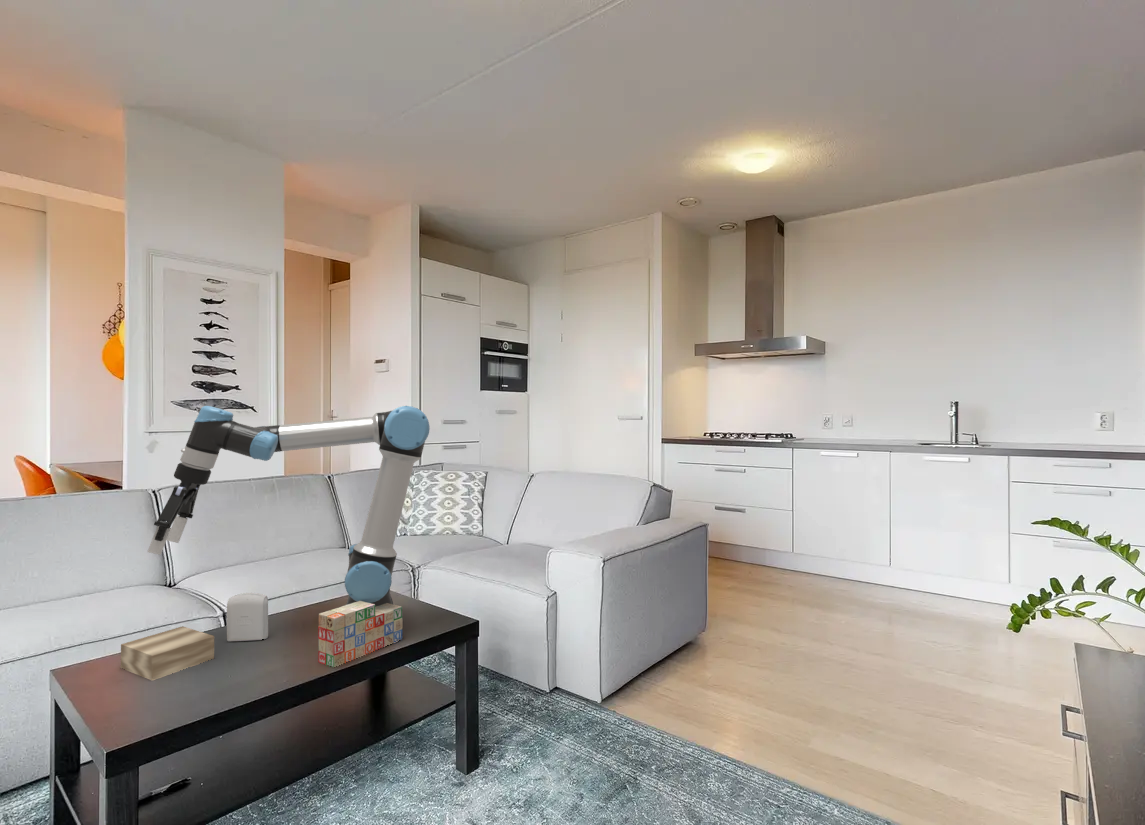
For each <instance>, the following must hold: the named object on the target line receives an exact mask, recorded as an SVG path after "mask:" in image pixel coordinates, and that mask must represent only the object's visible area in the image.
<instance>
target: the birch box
mask: <svg viewBox="0 0 1145 825" xmlns="http://www.w3.org/2000/svg"><path fill="white" fill-rule="evenodd" d="M211 659H212V660H214V659H215V635H212V634H210V633H206V632H202V631H200V630H196V629H194V628H189V627H187V626H183V625H182V626H179V627H176V628H172V629H169V630H165V631H162V632H159V633H155V634H152V635H151V634H150V635H148V636H144V637H142V638H138V639H134V640H131V641H128V642H124V643H121V644H120V669H122V668H123V669H122V670H124V669H125V670H124V671H127V672H129V673H132V674H135V675H136V676H140V677H142V678H144V679H148V680H149V681H155V680H158V679H161V678H164V677H167V676H169V675H172V673H173V674H175V673H178V672H181V671H183V669H184V670H186V668H187V669H189V668H188V667H190V668H191V667H194V666H198V665H201V664H203V662H204V663H206V662H209V661H211ZM208 660H209V661H208ZM205 661H206V662H205ZM200 663H201V664H200ZM180 670H181V671H180Z"/></svg>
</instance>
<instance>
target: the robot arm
mask: <svg viewBox="0 0 1145 825" xmlns="http://www.w3.org/2000/svg"><path fill="white" fill-rule="evenodd" d="M233 418H234V414H233V412H231V411H228V410H225V409H222V408H218V407H215V406H211V405H203V406H202V407H201V408H200V410H199V412H198V415H197V417H196V419H195V420H194V421H193V422H194V423H193V425H192V428H191V430H190V434H189V436H188V439H187V441H186V444H185V447H184V448H181V450H180V451H181V453H182V455H181V457H180V458H179V459H180V460H179V461H180V462H179V463H178V464H177V466H176V468H175V471H174V472H173V477H174V479H176V480H178V481H180V483H179V485H175V486H173V490H172V492H171V494H170V496H169V498H168V500H167V502H166V504H165V506H164V507H163V509H162V511H161V512H160V515H159V517H158V518H157V520H156V521H154V524H153V526H156V529H155V531H154V534H153V537H152V539H151V542H150V544H149V547H148V549H147V553H151V554H155V555H160V556H161V555H162V553H163V550H164V547H165V545H166V542H172V543H177V544H179V543H180V540H181V538H182V535H183V532H184V530H185V528H186V526H187V522H188V520H189V519H192V518H193V517H194V514H193V513H194V509H195V504H196V502H197V497H198V492H199V489H200V486H202V485H206V484H208V482H209V479H210V478H211V474H212V471H211V470H212V469H214V468H215V464H216V462H217V460H218V457H219V454H220V451H221V449H222V450H225V451H229V452H232V453H236V454H239V455H242V456H245V457H249V458H252V459H254V460H260V461H264V462H267V461H269V460H271V458H272V457H273V455H274V453H278V452H279V453H281V452H288V451H297V450H307V449H319V448H328V447H338V446H347V445H358V444H359V445H360V444H368V443H371V444H372V443H376V444H377V445H378V446H379V447H378V451H379V452H380V454H381V455H382V458H381V463H380V467H379V471H378V473H377V474H378V475H377V479H376V482H375V485H374V490H373V493H372V498H371V502H370V505H369V508H368V509H369V510H368V514H367V518H366V521H365V525H364V529H363V533H362V537H361V541H360V542H359V543H355V544H352V545H350V546H349V548H348V553H347V554H348V569H347V572H346V574H345V577H344V588H345V590H346V593H347V595H348V597H347V599H346V600H347V601H346V604H345V605H348V604H351V603H354V602H357V601H363V602H367V603H371V604H375V607H376V606H380V605H383V604H386V603H389V604H393V605H394V602H393V598H392V595H391V586H392V583H393V582H392V577H393V576H392V575H393V570H394V567H395V562H396V559H397V555H398V553H397V552H396V549H395V548H394V545H395V539H396V536H397V532H398V527H399V524H400V521H401V515H402V512H403V508H404V505H405V504H404V503H405V500H406V496H407V492H408V489H409V484H410V481H411V476H412V472H413V468H414V465H415V463H416V462H417V461H419V460H420V459H422V455H423V451H424V448H425V447H424V446H425V443H426V440H428V437H429V435H430V429H431V428H430V423H429V419H428V417H427V415H426V414H425V413H424V412H423V411H422V410H421V409H420V408H417V407H414V406H409V405H402V406H398V407H397V408H395V409H393V410H390V411H385V412H384V411H382V412H376V413H375V414H374V415H372V416H366V417H356V418H344V419H335V420H334V419H332V420H322V421H310V422H309V421H308V422H300V423H299V422H298V423H297V422H296V423H288V424H280V425H278V424H277V425H266V426H265V425H261V426H255V427H253V426H251V425H247V424H243V423H239V422H236V421H235V420H234V419H233Z"/></svg>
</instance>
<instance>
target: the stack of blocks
mask: <svg viewBox="0 0 1145 825" xmlns="http://www.w3.org/2000/svg"><path fill="white" fill-rule="evenodd" d="M403 622H404V621H403V606H401V605H398V604H394V603H393V604H389V603H386V604H383V605H380V606H376V607H375V604H371V603H367V602H363V601H357V602H354V603H351V604H348V605H346V604H345V605H342V606H340V607H336V608H333V609H330V610H326V611H324V612H320V613H318V627H317V630H318V632H317V636H318V653H317V654H318V655H317V656H318V657H317V659H318V663H320V664H322V665H324V664H325V665H324V666H327V665H329V666H328V667H330V666H332V667H335V668H337V667H340V666H342V665H344V664H343V663H345V664H347V663H346V662H348V661H350V662H352V661H351V660H353V659H355V660H357V659H356V658H358V657H360V658H362V657H361V656H363V655H365V656H367V655H369V654H372V653H374V652H376V651H375V650H377V651H379V650H381V649H380V648H382V647H384V648H386V647H385V646H387V645H389V646H391V645H390V644H392V643H394V642H396V641H398V640H401V639H402V640H403ZM402 640H401V641H402ZM394 644H395V643H394ZM392 645H393V644H392ZM387 647H388V646H387ZM378 649H379V650H378ZM382 649H383V648H382ZM373 651H374V652H373ZM371 652H372V653H371ZM368 653H369V654H368ZM366 654H367V655H366ZM363 657H364V656H363ZM358 659H359V658H358ZM353 661H354V660H353ZM348 663H349V662H348ZM341 664H342V665H341ZM339 665H340V666H339ZM336 666H337V667H336ZM332 667H331V668H332Z"/></svg>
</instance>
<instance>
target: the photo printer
mask: <svg viewBox="0 0 1145 825" xmlns="http://www.w3.org/2000/svg"><path fill="white" fill-rule="evenodd" d="M268 637H269V598H268V596H267V595H266V594H263V593H256V592H246V593H244V592H243V593H240V594H235V595H232V596H230V597H229V598H228V600H227V603H226V640H227V642H244V641H245V642H246V641H261V640H262V639H264V640H266V639H268Z"/></svg>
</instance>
